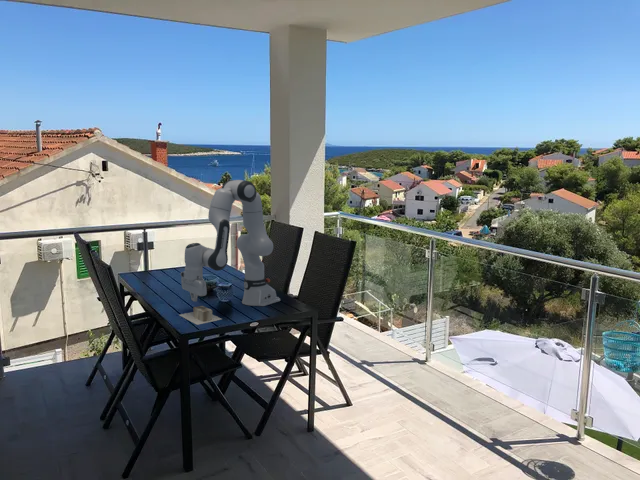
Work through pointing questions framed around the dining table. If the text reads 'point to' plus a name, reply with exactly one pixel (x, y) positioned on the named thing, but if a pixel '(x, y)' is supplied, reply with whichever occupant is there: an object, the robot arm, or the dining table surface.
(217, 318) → the sand mat
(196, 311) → the birch block
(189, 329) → the dining table surface
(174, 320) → the dining table surface
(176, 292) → the dining table surface
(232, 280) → the dining table surface
